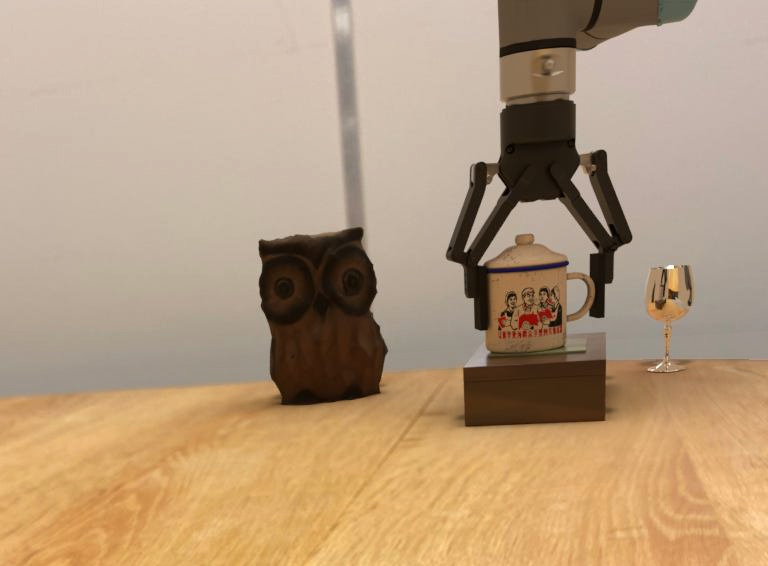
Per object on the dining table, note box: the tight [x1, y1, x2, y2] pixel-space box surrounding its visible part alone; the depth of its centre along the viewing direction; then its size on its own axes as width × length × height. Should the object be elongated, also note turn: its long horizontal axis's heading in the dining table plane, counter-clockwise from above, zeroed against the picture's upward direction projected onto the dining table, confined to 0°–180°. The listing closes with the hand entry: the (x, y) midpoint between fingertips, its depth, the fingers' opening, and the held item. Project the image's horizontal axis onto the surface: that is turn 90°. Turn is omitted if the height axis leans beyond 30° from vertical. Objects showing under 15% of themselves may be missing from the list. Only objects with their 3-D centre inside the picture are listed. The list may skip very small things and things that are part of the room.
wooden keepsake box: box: [462, 331, 607, 427], centre depth 117 cm, size 22×14×6 cm, turn 165°
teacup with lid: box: [482, 233, 595, 353], centre depth 114 cm, size 12×9×12 cm
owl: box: [258, 226, 389, 406], centre depth 132 cm, size 13×13×20 cm
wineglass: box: [643, 264, 696, 373], centre depth 129 cm, size 6×6×12 cm
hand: (539, 323), depth 115 cm, fingers open, 12 cm apart
